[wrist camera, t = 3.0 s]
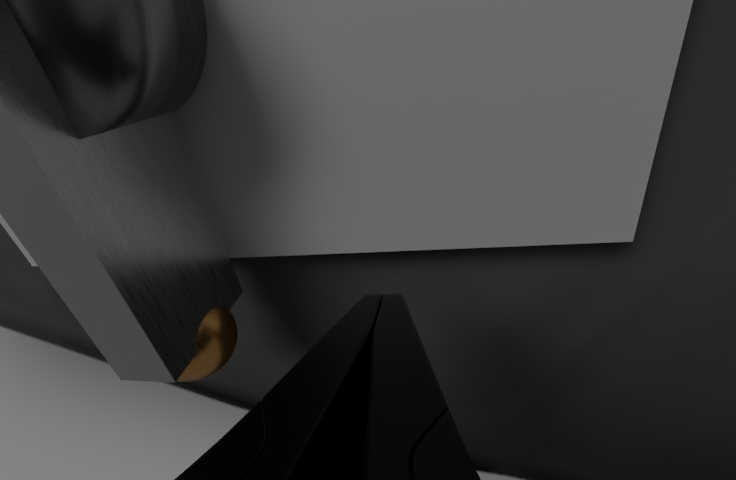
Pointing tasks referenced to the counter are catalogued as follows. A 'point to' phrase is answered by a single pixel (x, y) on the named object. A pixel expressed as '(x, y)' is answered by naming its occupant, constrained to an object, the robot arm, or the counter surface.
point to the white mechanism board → (427, 122)
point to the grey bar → (115, 178)
